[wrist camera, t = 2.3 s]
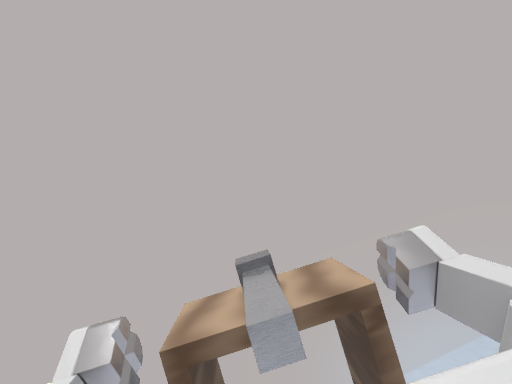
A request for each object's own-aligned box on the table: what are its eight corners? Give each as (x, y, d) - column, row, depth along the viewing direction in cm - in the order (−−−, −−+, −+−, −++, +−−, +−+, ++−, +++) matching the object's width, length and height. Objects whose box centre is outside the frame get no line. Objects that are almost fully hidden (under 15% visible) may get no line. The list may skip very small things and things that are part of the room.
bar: (276, 281, 41) (267, 249, 41) (314, 355, 21) (295, 293, 21) (245, 291, 40) (235, 259, 40) (252, 376, 20) (233, 313, 20)
